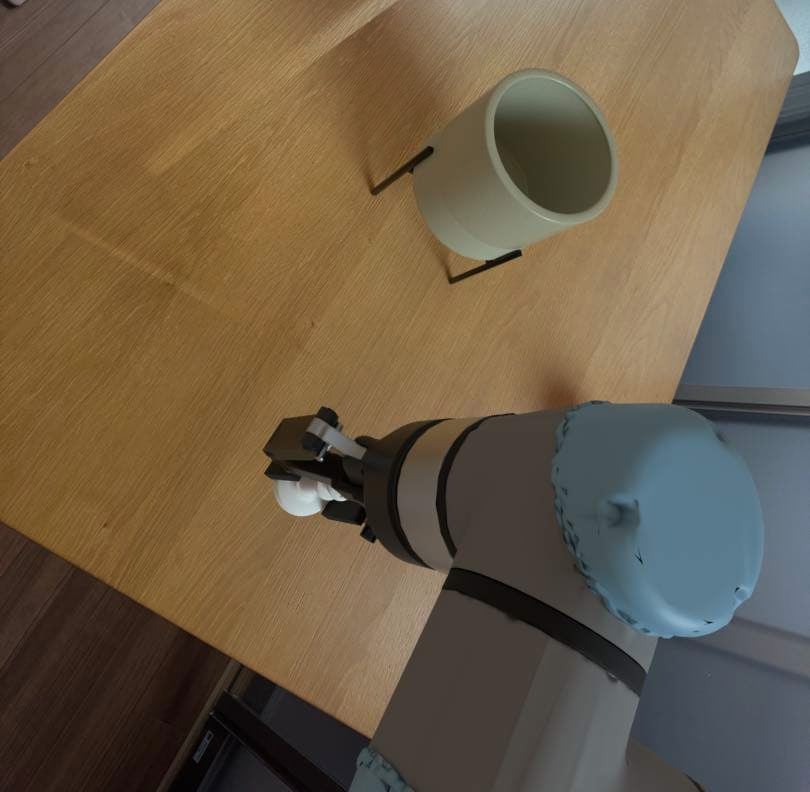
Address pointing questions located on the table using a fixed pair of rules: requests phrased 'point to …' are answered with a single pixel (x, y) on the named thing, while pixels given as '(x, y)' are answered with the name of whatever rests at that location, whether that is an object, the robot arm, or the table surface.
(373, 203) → the table surface
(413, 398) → the table surface
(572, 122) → the planter
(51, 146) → the table surface
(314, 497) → the chess piece
